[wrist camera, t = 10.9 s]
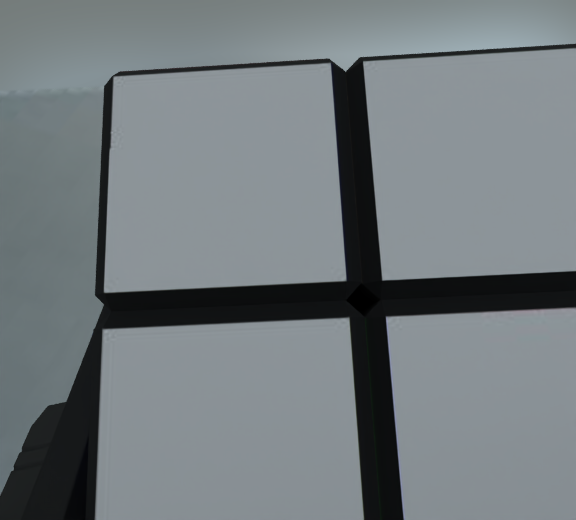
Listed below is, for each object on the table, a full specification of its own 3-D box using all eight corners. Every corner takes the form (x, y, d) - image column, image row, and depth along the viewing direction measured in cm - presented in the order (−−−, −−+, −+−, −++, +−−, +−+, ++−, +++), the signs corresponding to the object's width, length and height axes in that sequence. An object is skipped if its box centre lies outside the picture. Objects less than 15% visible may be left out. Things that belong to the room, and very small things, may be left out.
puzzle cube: (207, 212, 18) (95, 62, 8) (439, 199, 18) (602, 29, 8) (209, 459, 16) (68, 636, 6) (469, 448, 16) (730, 615, 6)
